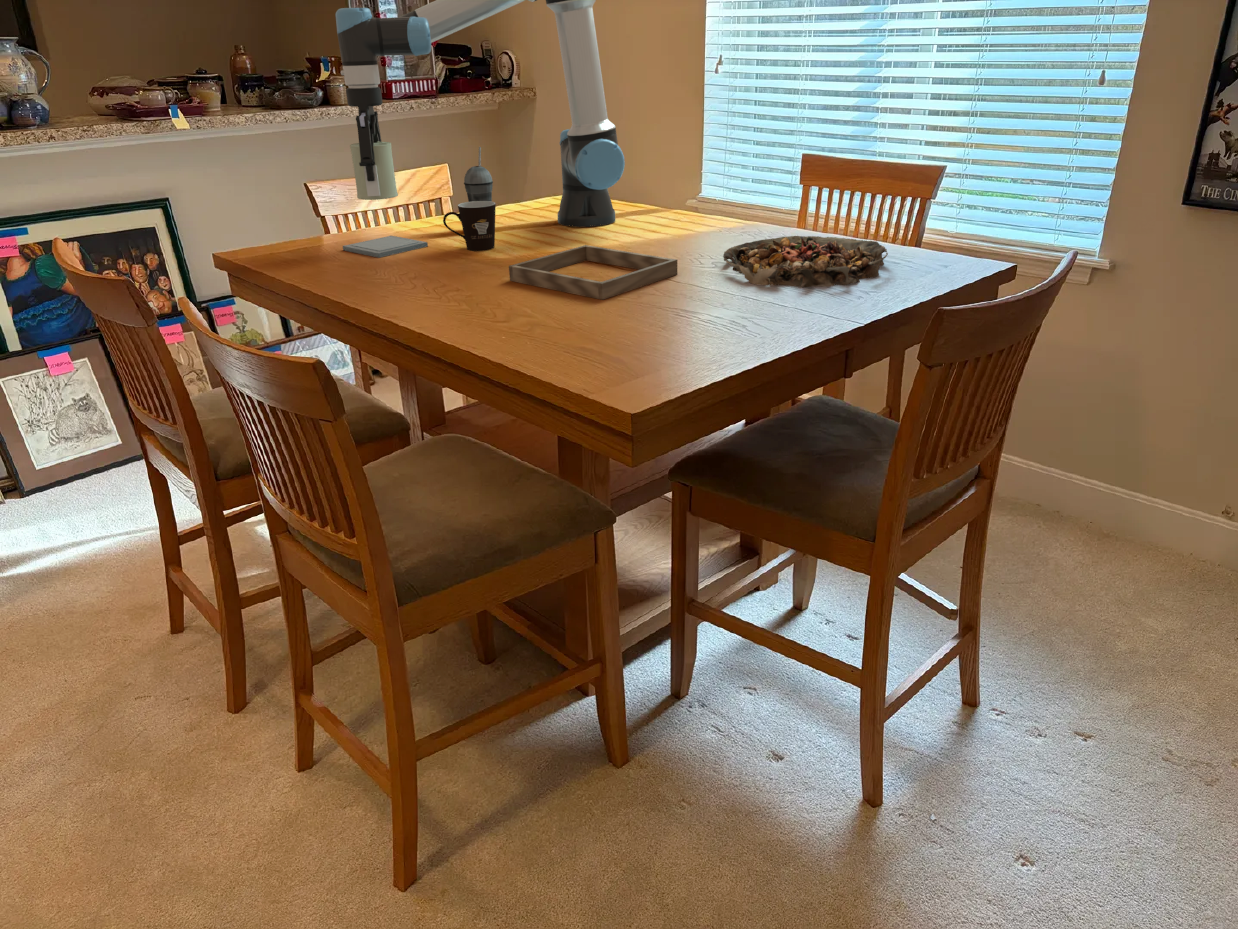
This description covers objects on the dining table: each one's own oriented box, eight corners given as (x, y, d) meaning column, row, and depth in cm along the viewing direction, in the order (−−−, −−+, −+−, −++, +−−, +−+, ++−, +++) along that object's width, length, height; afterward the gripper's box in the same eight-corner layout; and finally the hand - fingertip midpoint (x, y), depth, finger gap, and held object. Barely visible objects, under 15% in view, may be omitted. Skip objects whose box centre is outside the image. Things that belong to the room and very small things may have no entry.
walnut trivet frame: (677, 274, 183) (677, 259, 181) (602, 299, 167) (602, 283, 166) (586, 258, 197) (585, 244, 196) (509, 280, 182) (508, 265, 180)
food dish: (800, 305, 164) (801, 263, 161) (690, 275, 190) (688, 237, 186) (928, 269, 181) (932, 230, 178) (811, 245, 206) (812, 210, 203)
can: (392, 199, 203) (385, 143, 198) (352, 200, 204) (343, 144, 199) (402, 192, 212) (395, 138, 207) (363, 193, 212) (355, 139, 207)
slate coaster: (427, 246, 214) (427, 241, 213) (378, 257, 204) (378, 252, 204) (391, 239, 222) (391, 235, 221) (343, 250, 212) (342, 245, 212)
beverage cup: (465, 228, 232) (456, 146, 223) (492, 225, 235) (484, 144, 226) (473, 233, 226) (464, 149, 217) (500, 230, 229) (493, 147, 220)
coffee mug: (502, 243, 214) (499, 200, 209) (494, 251, 206) (490, 207, 202) (455, 244, 215) (450, 201, 211) (445, 252, 207) (440, 207, 203)
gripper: (354, 84, 207) (368, 185, 217) (335, 89, 188) (352, 200, 197) (387, 83, 207) (400, 184, 217) (372, 88, 188) (386, 199, 198)
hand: (377, 192), depth 207 cm, fingers closed on can, 9 cm apart
